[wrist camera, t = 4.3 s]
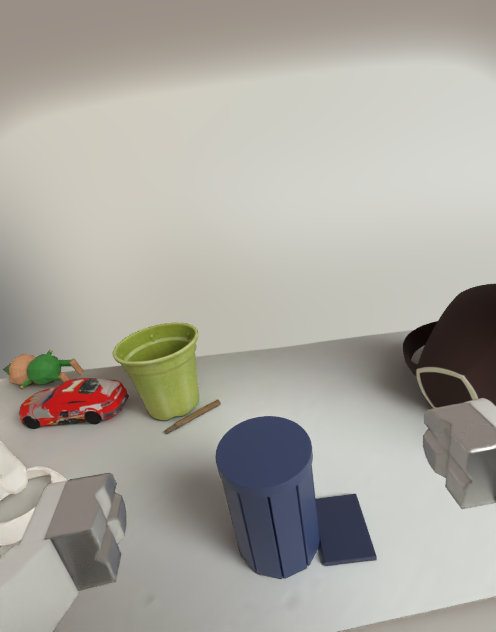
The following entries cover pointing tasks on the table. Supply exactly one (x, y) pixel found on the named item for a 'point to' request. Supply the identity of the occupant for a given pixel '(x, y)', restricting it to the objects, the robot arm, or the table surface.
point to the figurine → (38, 369)
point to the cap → (285, 501)
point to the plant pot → (162, 367)
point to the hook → (11, 478)
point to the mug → (458, 350)
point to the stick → (193, 416)
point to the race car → (74, 403)
